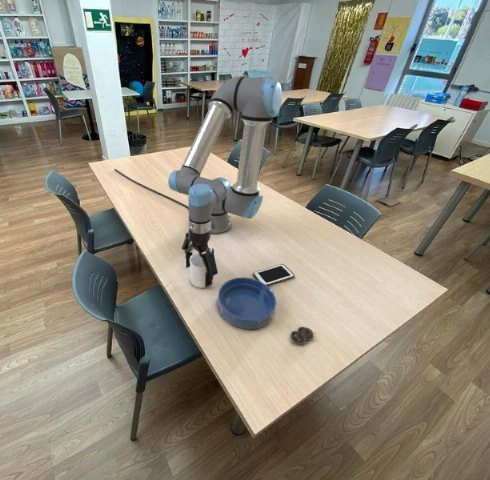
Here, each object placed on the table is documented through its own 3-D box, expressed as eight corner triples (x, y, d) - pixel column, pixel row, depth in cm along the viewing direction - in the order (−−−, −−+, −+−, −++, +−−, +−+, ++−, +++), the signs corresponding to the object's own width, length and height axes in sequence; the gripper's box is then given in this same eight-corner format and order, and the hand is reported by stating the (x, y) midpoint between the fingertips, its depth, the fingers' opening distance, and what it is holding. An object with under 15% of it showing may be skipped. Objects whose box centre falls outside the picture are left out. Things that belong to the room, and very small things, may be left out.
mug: (181, 272, 112) (181, 252, 106) (199, 265, 116) (199, 245, 109) (197, 291, 104) (198, 271, 98) (216, 283, 107) (217, 262, 101)
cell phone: (252, 274, 111) (252, 272, 111) (282, 265, 116) (283, 263, 115) (263, 287, 106) (263, 285, 105) (294, 277, 110) (295, 275, 109)
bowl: (206, 301, 100) (207, 291, 97) (245, 280, 109) (247, 270, 106) (244, 340, 87) (246, 330, 84) (285, 312, 96) (288, 302, 93)
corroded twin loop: (286, 336, 89) (286, 333, 88) (304, 326, 92) (305, 323, 91) (297, 348, 85) (298, 346, 84) (316, 337, 88) (317, 335, 88)
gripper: (171, 216, 102) (173, 261, 115) (213, 251, 86) (210, 298, 99) (188, 211, 106) (188, 255, 119) (231, 242, 90) (226, 289, 103)
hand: (198, 275), depth 109 cm, fingers closed on mug, 12 cm apart
